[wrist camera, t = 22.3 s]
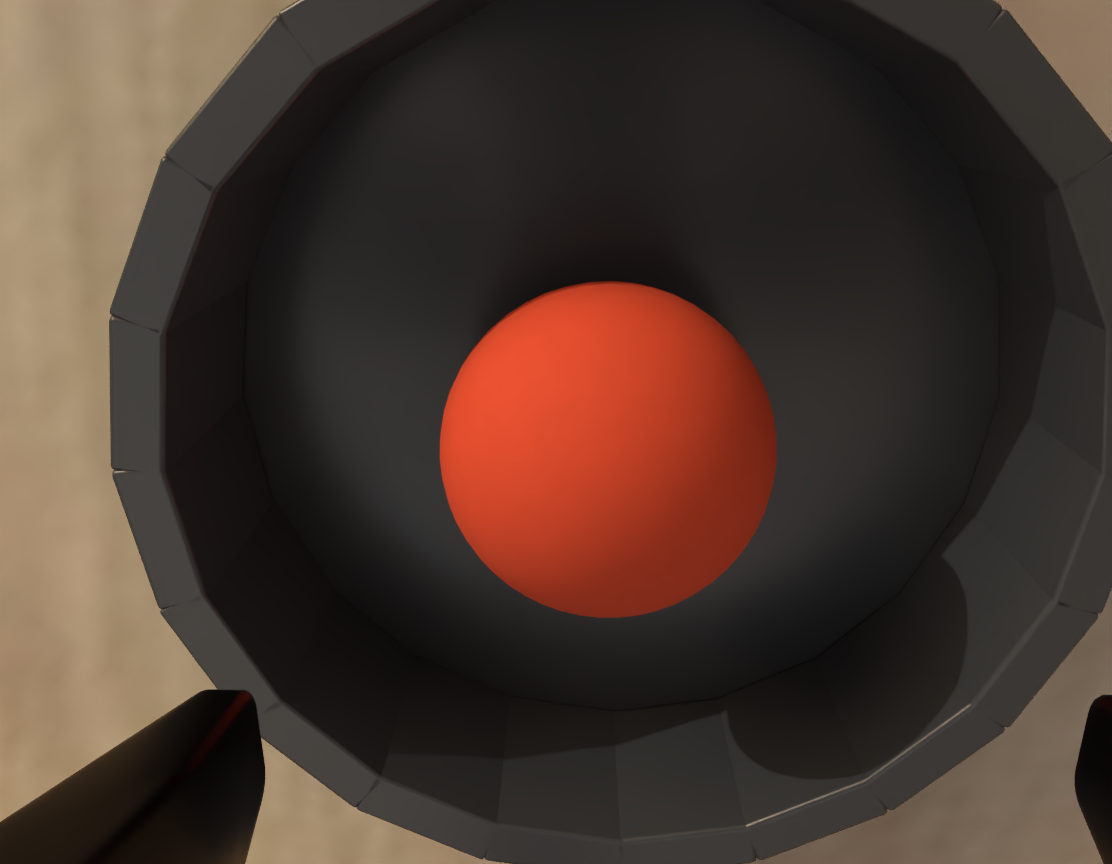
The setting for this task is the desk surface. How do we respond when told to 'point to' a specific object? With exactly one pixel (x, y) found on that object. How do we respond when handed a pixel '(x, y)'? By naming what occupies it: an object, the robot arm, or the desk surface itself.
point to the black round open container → (692, 274)
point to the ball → (608, 449)
